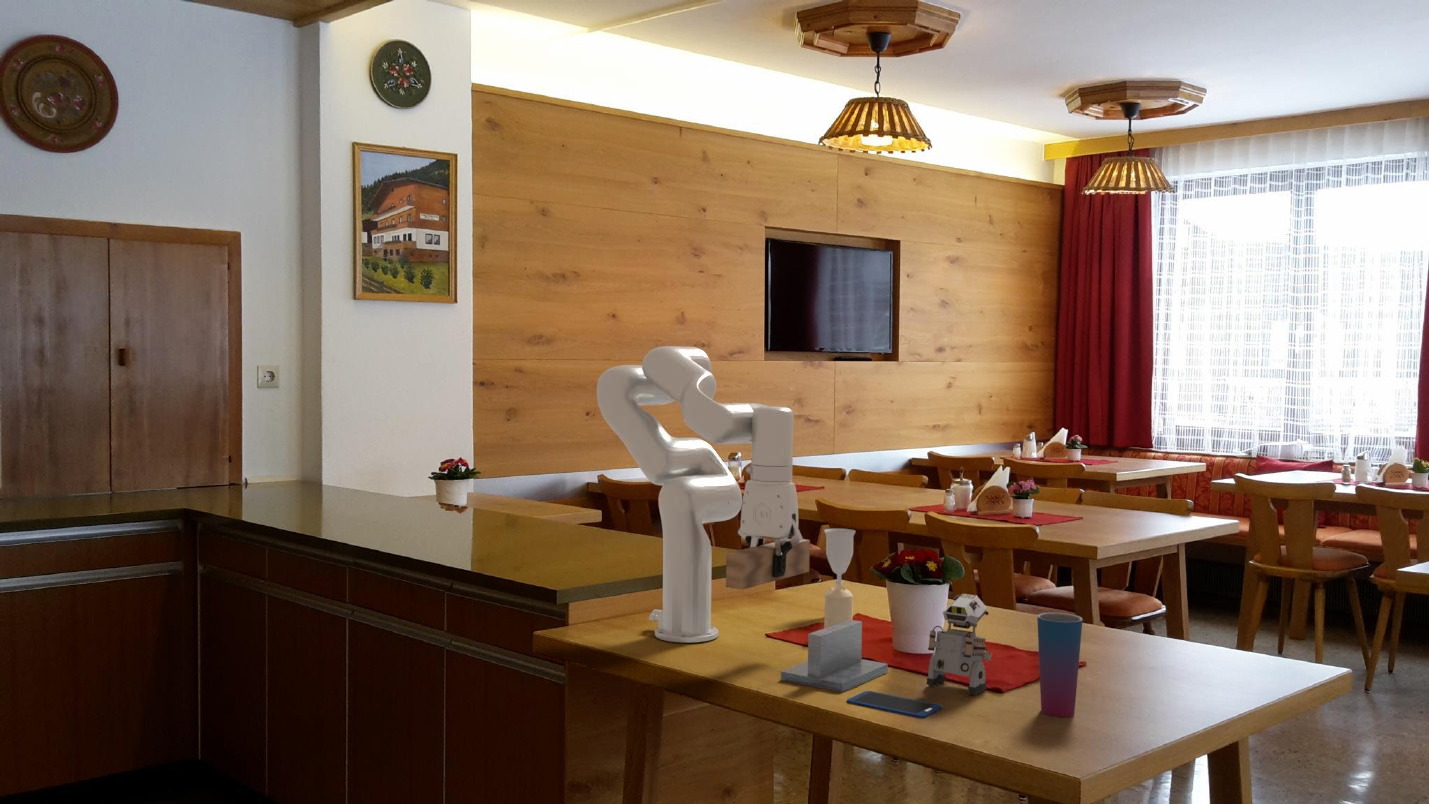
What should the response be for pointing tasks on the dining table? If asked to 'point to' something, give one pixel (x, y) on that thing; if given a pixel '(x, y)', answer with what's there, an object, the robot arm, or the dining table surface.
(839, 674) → the ridge stand
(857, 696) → the cell phone
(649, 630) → the dining table surface
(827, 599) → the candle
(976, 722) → the dining table surface
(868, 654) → the dining table surface
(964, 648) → the figurine
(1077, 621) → the cup
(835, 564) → the chalice
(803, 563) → the wooden block
